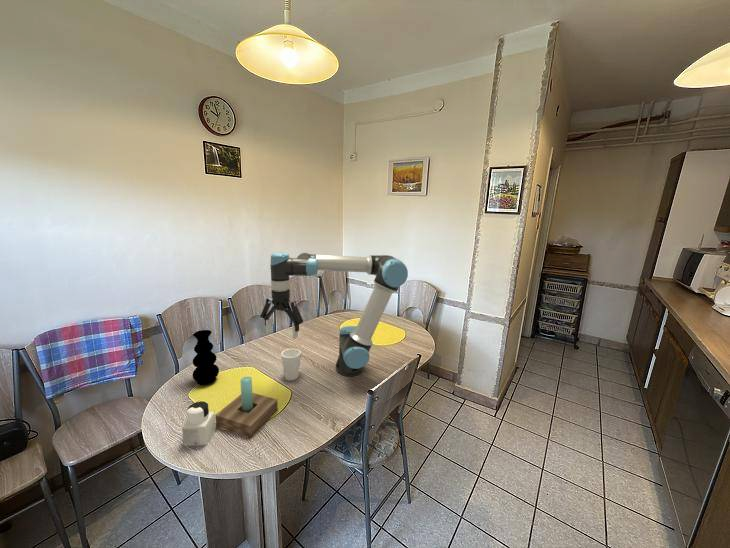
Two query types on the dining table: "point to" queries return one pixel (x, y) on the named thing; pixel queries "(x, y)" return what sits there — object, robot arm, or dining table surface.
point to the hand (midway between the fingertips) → (281, 335)
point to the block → (246, 415)
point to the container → (198, 424)
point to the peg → (246, 394)
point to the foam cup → (291, 363)
